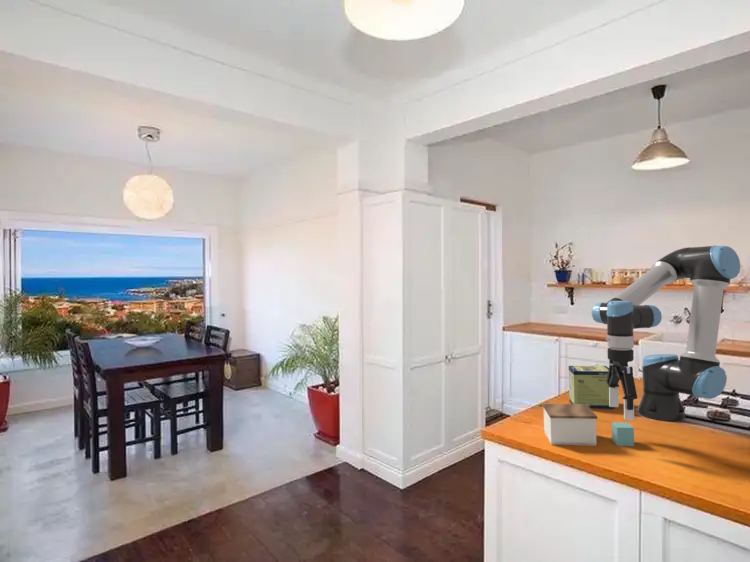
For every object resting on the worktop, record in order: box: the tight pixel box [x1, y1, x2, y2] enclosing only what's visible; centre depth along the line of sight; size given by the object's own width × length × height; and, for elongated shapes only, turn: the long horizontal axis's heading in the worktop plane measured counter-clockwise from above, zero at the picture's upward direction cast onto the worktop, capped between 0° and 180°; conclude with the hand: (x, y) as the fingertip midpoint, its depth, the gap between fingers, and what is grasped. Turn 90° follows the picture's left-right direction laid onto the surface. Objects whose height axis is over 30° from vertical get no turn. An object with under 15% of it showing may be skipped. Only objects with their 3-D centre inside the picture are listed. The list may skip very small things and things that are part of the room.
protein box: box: [568, 365, 615, 410], centre depth 191 cm, size 10×16×16 cm
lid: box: [542, 403, 598, 420], centre depth 155 cm, size 14×13×1 cm
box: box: [538, 403, 597, 447], centre depth 156 cm, size 17×12×10 cm
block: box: [611, 421, 635, 447], centre depth 150 cm, size 5×5×6 cm
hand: (621, 412), depth 150 cm, fingers open, 13 cm apart
